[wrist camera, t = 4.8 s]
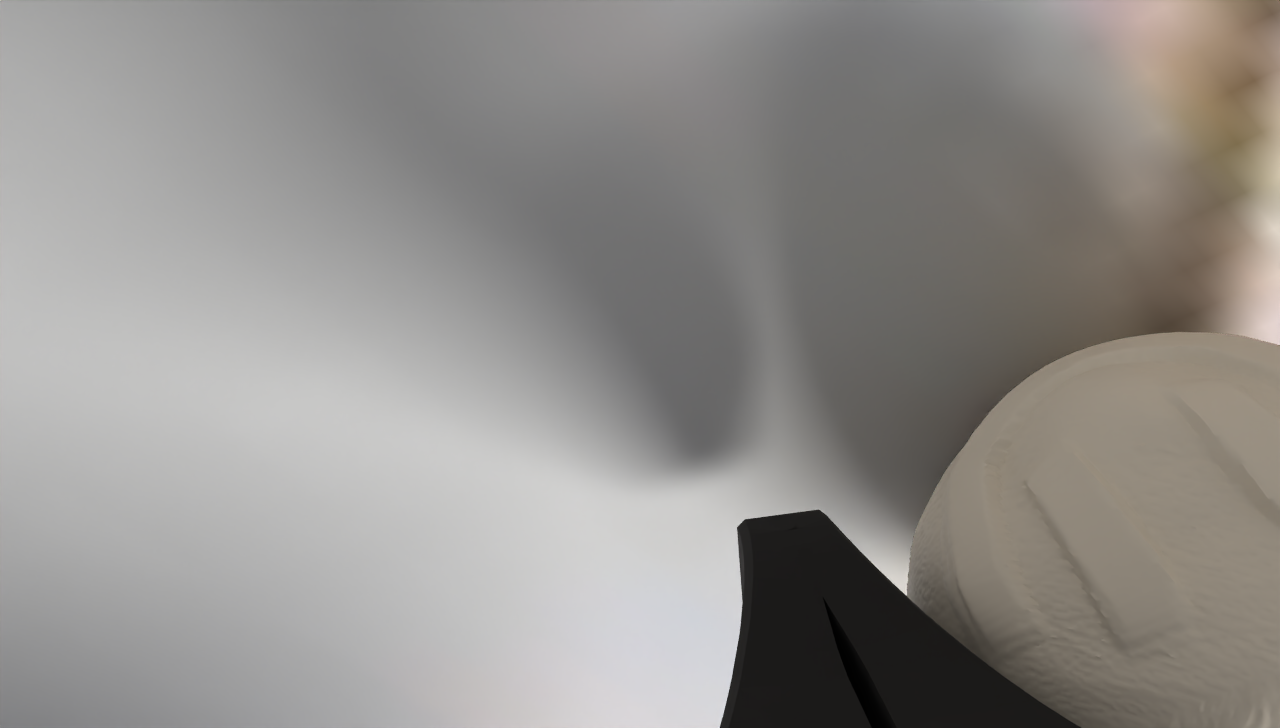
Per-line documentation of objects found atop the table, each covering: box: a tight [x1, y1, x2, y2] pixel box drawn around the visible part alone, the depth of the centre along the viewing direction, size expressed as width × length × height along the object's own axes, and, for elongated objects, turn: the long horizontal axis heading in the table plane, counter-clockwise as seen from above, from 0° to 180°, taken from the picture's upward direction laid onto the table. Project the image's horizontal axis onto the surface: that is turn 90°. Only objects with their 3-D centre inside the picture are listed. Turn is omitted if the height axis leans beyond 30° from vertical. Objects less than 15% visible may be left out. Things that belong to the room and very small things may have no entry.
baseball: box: [907, 332, 1280, 728], centre depth 11 cm, size 7×7×7 cm
